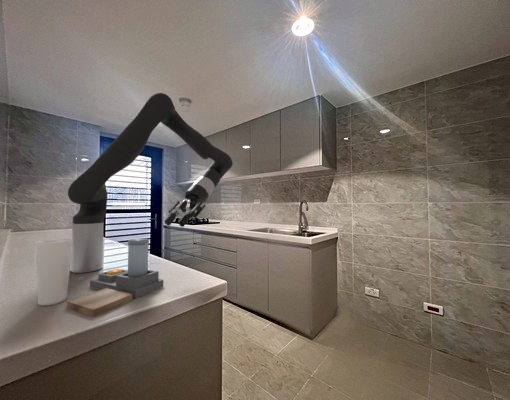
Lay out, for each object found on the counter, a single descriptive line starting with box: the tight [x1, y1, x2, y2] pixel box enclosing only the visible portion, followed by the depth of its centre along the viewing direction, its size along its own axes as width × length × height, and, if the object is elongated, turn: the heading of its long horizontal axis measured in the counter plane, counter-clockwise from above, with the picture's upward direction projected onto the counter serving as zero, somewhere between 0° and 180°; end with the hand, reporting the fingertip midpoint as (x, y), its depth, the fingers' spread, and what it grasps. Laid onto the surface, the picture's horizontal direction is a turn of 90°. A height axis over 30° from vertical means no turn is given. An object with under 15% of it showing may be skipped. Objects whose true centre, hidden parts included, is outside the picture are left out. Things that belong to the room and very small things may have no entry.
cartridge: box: [127, 238, 150, 278], centre depth 62 cm, size 5×5×12 cm
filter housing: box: [89, 269, 164, 299], centre depth 64 cm, size 19×9×4 cm, turn 67°
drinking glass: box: [34, 238, 72, 307], centre depth 54 cm, size 7×7×15 cm
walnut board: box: [66, 288, 133, 318], centre depth 53 cm, size 10×9×2 cm
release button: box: [106, 268, 122, 275], centre depth 66 cm, size 4×4×2 cm
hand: (173, 224), depth 72 cm, fingers open, 6 cm apart
